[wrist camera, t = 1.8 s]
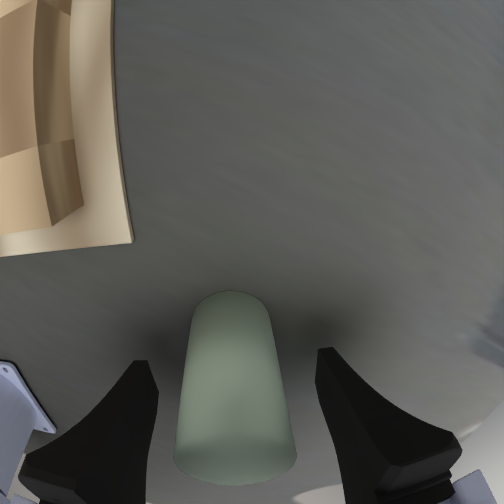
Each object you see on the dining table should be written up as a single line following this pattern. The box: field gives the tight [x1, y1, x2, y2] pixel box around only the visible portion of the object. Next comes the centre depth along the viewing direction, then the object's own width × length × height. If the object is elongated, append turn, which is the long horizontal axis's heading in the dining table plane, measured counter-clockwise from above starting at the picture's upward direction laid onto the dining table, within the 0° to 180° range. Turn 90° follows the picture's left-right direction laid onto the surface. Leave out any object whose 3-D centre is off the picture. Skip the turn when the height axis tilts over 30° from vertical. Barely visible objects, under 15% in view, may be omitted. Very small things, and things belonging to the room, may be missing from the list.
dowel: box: [174, 291, 297, 485], centre depth 12 cm, size 4×4×8 cm
